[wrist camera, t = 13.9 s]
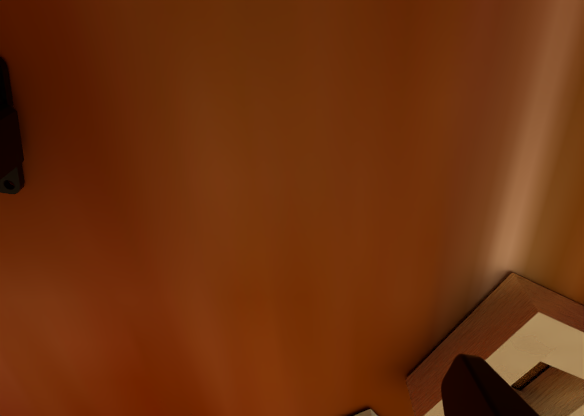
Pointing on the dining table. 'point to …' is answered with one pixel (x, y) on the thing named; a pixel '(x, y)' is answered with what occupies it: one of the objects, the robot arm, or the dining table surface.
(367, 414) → the pad
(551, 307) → the collar
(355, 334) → the dining table surface
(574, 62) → the dining table surface
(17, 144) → the robot arm
